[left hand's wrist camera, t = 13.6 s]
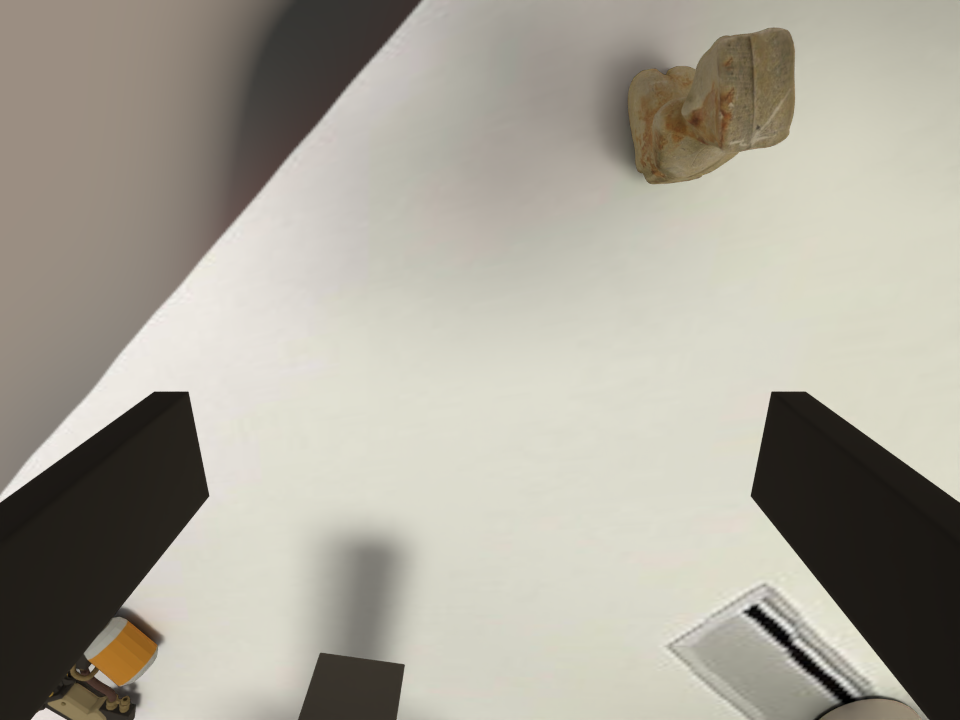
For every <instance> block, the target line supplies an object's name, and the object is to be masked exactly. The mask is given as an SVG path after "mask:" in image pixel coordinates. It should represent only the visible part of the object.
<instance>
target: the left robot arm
mask: <svg viewBox="0 0 960 720" xmlns="http://www.w3.org/2000/svg"><path fill="white" fill-rule="evenodd" d="M208 497H209V492H208V487H207V482H206V477H205V472H204V467H203V462H202V457H201V452H200V447H199V442H198V437H197V432H196V427H195V422H194V417H193V412H192V407H191V402H190V397H189V392H153V393H152V394H150V395H149V396H148V397H146V398H145V399H144V400H142V401H141V402H139V403H138V404H137V405H135V406H134V407H132V408H131V409H130V410H128V411H127V412H125V413H124V414H123V415H121V416H120V417H119V418H117V419H116V420H114V421H113V422H112V423H110V424H109V425H107V426H106V427H105V428H103V429H102V430H100V431H99V432H98V433H96V434H95V435H94V436H92V437H91V438H89V439H88V440H87V441H85V442H84V443H82V444H81V445H80V446H78V447H77V448H75V449H74V450H73V451H71V452H70V453H69V454H67V455H66V456H64V457H63V458H62V459H60V460H59V461H57V462H56V463H55V464H53V465H52V466H51V467H49V468H48V469H46V470H45V471H44V472H42V473H41V474H39V475H38V476H37V477H35V478H34V479H32V480H31V481H30V482H28V483H27V484H26V485H24V486H23V487H21V488H20V489H19V490H17V491H16V492H14V493H13V494H12V495H10V496H9V497H7V498H6V499H5V500H3V501H2V502H1V503H0V720H31V719H32V717H33V716H34V715H35V714H36V712H37V711H38V710H39V709H40V707H41V706H42V705H43V704H44V702H45V701H46V700H47V699H48V697H49V696H50V695H51V694H52V692H53V691H54V690H55V689H56V687H57V686H58V685H59V684H60V682H61V681H62V680H63V679H64V677H65V676H66V675H67V674H68V672H69V671H70V670H71V669H72V667H73V666H74V665H75V664H76V662H77V661H78V660H79V659H80V657H81V656H82V655H83V654H84V652H85V651H86V650H87V649H88V647H89V646H90V645H91V644H92V642H93V641H94V640H95V639H96V637H97V636H98V635H99V634H100V632H101V631H102V630H103V629H104V627H105V626H106V625H107V624H108V622H109V621H110V620H111V619H112V617H113V616H114V615H115V614H116V612H117V611H118V610H119V609H120V607H121V606H122V605H123V604H124V602H125V601H126V600H127V599H128V597H129V596H130V595H131V594H132V592H133V591H134V590H135V589H136V587H137V586H138V585H139V583H140V582H141V581H142V580H143V578H144V577H145V576H146V575H147V573H148V572H149V571H150V570H151V568H152V567H153V566H154V565H155V563H156V562H157V561H158V560H159V558H160V557H161V556H162V555H163V553H164V552H165V551H166V550H167V548H168V547H169V546H170V545H171V543H172V542H173V541H174V540H175V538H176V537H177V536H178V535H179V533H180V532H181V531H182V530H183V528H184V527H185V526H186V525H187V523H188V522H189V521H190V520H191V518H192V517H193V516H194V515H195V513H196V512H197V511H198V510H199V508H200V507H201V506H202V505H203V503H204V502H205V501H206V500H207V498H208ZM751 497H752V498H753V500H754V501H755V502H756V503H757V505H758V506H759V507H760V508H761V510H762V511H763V512H764V513H765V515H766V516H767V517H768V518H769V520H770V521H771V522H772V523H773V525H774V526H775V527H776V528H777V530H778V531H779V532H780V533H781V535H782V536H783V537H784V538H785V540H786V541H787V542H788V543H789V545H790V546H791V547H792V548H793V550H794V551H795V552H796V553H797V555H798V556H799V557H800V558H801V560H802V561H803V562H804V563H805V565H806V566H807V567H808V568H809V570H810V571H811V572H812V573H813V575H814V576H815V577H816V578H817V580H818V581H819V582H820V584H821V585H822V586H823V587H824V589H825V590H826V591H827V592H828V594H829V595H830V596H831V597H832V599H833V600H834V601H835V602H836V604H837V605H838V606H839V607H840V609H841V610H842V611H843V612H844V614H845V615H846V616H847V617H848V619H849V620H850V621H851V622H852V624H853V625H854V626H855V627H856V629H857V630H858V631H859V632H860V634H861V635H862V636H863V637H864V639H865V640H866V641H867V642H868V644H869V645H870V646H871V647H872V649H873V650H874V651H875V652H876V654H877V655H878V656H879V657H880V659H881V660H882V661H883V662H884V664H885V665H886V666H887V667H888V669H889V670H890V671H891V672H892V674H893V675H894V676H895V677H896V679H897V680H898V681H899V682H900V684H901V685H902V686H903V687H904V689H905V690H906V691H907V692H908V694H909V695H910V696H911V697H912V699H913V700H914V701H915V702H916V704H917V705H918V706H919V707H920V709H921V710H922V711H923V712H924V714H925V715H926V716H927V717H928V719H929V720H960V503H959V502H958V501H957V500H955V499H954V498H953V497H951V496H950V495H948V494H947V493H946V492H944V491H943V490H941V489H940V488H939V487H937V486H936V485H934V484H933V483H932V482H930V481H929V480H928V479H926V478H925V477H923V476H922V475H921V474H919V473H918V472H916V471H915V470H914V469H912V468H911V467H909V466H908V465H907V464H905V463H904V462H903V461H901V460H900V459H898V458H897V457H896V456H894V455H893V454H891V453H890V452H889V451H887V450H886V449H885V448H883V447H882V446H880V445H879V444H878V443H876V442H875V441H873V440H872V439H871V438H869V437H868V436H866V435H865V434H864V433H862V432H861V431H860V430H858V429H857V428H855V427H854V426H853V425H851V424H850V423H848V422H847V421H846V420H844V419H843V418H841V417H840V416H839V415H837V414H836V413H835V412H833V411H832V410H830V409H829V408H828V407H826V406H825V405H823V404H822V403H821V402H819V401H818V400H816V399H815V398H814V397H812V396H811V395H810V394H808V393H807V392H771V397H770V402H769V407H768V412H767V417H766V422H765V427H764V432H763V437H762V442H761V447H760V452H759V457H758V462H757V467H756V472H755V477H754V482H753V487H752V492H751Z"/></svg>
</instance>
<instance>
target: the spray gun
mask: <svg viewBox="0 0 960 720" xmlns="http://www.w3.org/2000/svg"><path fill="white" fill-rule="evenodd" d="M157 653H158V645H157V644H155V643H154V642H153V641H152V640H151V639H149V638H148V637H147V636H146V635H145V634H143V633H142V632H141V631H140V630H139V629H137V628H136V627H135V626H134V625H133V624H131V623H130V622H129V621H128V620H126V619H124V618H122V617H115V618H112V619H111V620H110V621H109V622H108V624H107V625H106V626H105V627H104V629H103V630H102V631H101V632H100V634H99V635H98V636H97V637H96V639H95V640H94V641H93V642H92V644H91V645H90V646H89V647H88V649H87V650H86V651H85V652H84V654H83V655H82V656H81V657H80V659H79V660H78V661H77V662H76V664H75V665H74V666H73V667H72V669H71V670H70V673H71V675H72V676H73V678H71V677H68V674H67V675H66V676H65V677H64V679H63V680H62V681H61V682H60V684H59V685H58V686H57V687H56V689H55V690H54V691H53V692H52V694H51V695H50V696H49V697H48V699H47V700H46V701H45V702H44V704H43V705H42V706H41V707H40V709H39V710H38V711H40V710H44V709H45V708H48V709H49V710H51V711H53V712H55V713H56V714H58V715H60V716H61V717H63V718H65V719H67V720H133V719H134V718H135V709H136V705H135V704H131V703H130V698H129V697H128V696H125V697H123V698H122V699H118V694H116V693H115V691H114V690H113V689H112V688H111V687H109V686H107V685H105V684H104V683H102V682H101V681H99V680H98V679H96V678H95V677H94V675H95V674H96V673H97V672H98V671H99V670H100V671H101V672H103V673H104V674H105V675H106V676H107V677H108V678H110V679H111V680H112V681H113V682H114V683H116V684H117V685H118V686H124V685H127V684H130V683H133V682H134V681H136V680H137V679H138V678H139V677H140V676H142V675H143V674H144V673H145V671H146V670H147V669H148V668H149V667H150V666H151V665H152V664H153V662H154V661H155V659H156V657H157ZM91 664H93V665H94V666H95V668H94V669H93V671H92V672H91V673H90V671H89V668H88V667H89V666H90V665H91ZM76 668H78V669H80V673H81V674H80V673H78V672H77V671H76ZM76 679H77V680H80V681H86V682H87V683H88V684H89V685H90V686H92V687H93V688H95V689H96V690H98V691H99V692H101V693H103V694H105V695H106V696H104V697H98V696H96V695H95V694H93V693H92V692H91V691H89V690H88V689H86V688H85V687H83V686H82V685H80V684H78V683H75V682H76ZM38 711H37V712H38ZM37 712H36V713H37Z"/></svg>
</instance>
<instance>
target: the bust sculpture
mask: <svg viewBox="0 0 960 720" xmlns="http://www.w3.org/2000/svg"><path fill="white" fill-rule="evenodd" d="M819 720H922V719H921V718H920V717H919V715H918V714H917V713H916V712H915V711H914V710H913V709H912V708H910V707H909V706H907V705H905V704H903V703H900V702H897V701H893V700H887V699H867V700H860V701H856V702H852V703H849V704H846V705H843V706H841V707H838V708H836V709H834V710H832V711H831V712H829V713H827V714H826V715H824V716H823V717H822V718H821V719H819Z"/></svg>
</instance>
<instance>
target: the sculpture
mask: <svg viewBox="0 0 960 720" xmlns="http://www.w3.org/2000/svg"><path fill="white" fill-rule="evenodd" d="M794 62H795V49H794V43H793V40H792V37H791V34H790V32H789V31H788V30H785V29H781V28H767V29H765V30H762V31H759V32H755V33H750V34H740V35H733V36H722V37H720V38H719V39H717V40H716V41H715V42H714V44H713V45H712V47H711V48H710V49H709V50H708V51H707V52H706V53H705V54H704V55H703V56H702V58H701V59H700V61H699V63H698V65H697V68H696V69H693V68H691V67H687V66H676V67H674V68H672V69H670V70H668V72H667V73H666V75H664V74H662V73H660V72H659V71H658V70H657V69H648V70H643V71H641V72H640V73H639V74H637V75H636V76H635V77H634V79H633V80H632V82H631V85H630V88H629V92H628V113H629V121H630V127H631V132H632V138H633V143H634V148H635V157H636V158H635V164H636V167H637V170H638V172H640V173H643V174H644V177H645V179H646V180H647V182H648V183H650V184H667V183H675V182H682V181H689V180H693V179H697V178H700V177H701V176H702V175H704V174H707V173H710V172H712V171H713V170H715V169H717V168H718V167H720V166H721V165H723V164H724V163H726V162H727V161H729V160H730V159H732V158H733V157H734V156H735V155H737V154H738V153H739V152H741V151H745V150H750V149H757V148H766V147H771V146H774V145H776V144H778V143H780V142H781V141H783V140H784V139H786V137H787V136H788V135H789V129H790V125H791V122H792V118H793V114H794V105H795V84H794Z"/></svg>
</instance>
